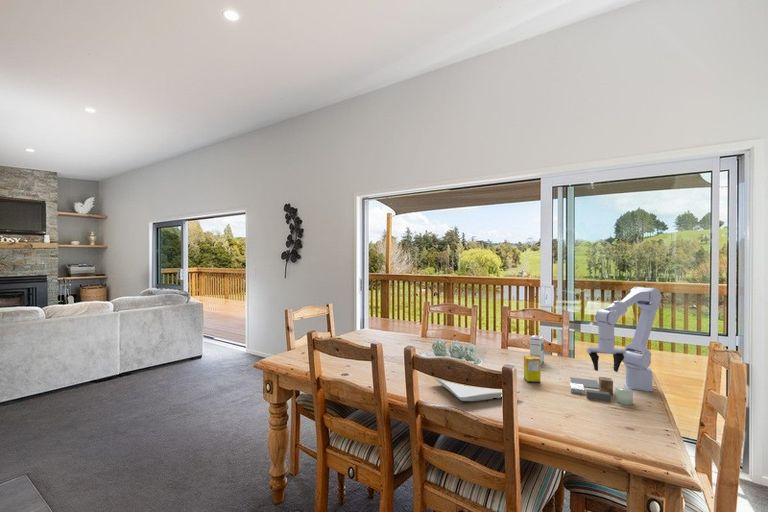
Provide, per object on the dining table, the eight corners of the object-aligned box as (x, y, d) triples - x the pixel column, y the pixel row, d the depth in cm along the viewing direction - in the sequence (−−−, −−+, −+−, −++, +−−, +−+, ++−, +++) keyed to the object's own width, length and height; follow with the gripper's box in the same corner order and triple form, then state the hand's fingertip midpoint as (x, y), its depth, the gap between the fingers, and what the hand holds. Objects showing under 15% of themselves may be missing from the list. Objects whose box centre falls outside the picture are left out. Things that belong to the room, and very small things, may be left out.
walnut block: (611, 392, 158) (611, 377, 158) (613, 395, 154) (613, 381, 154) (598, 390, 160) (598, 376, 160) (600, 394, 156) (600, 379, 156)
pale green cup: (630, 400, 149) (631, 387, 149) (634, 406, 144) (634, 393, 144) (613, 398, 152) (613, 385, 152) (616, 403, 146) (616, 390, 146)
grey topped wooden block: (570, 388, 164) (570, 382, 164) (583, 389, 162) (583, 384, 162) (570, 393, 157) (570, 387, 157) (584, 395, 155) (584, 389, 155)
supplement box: (536, 378, 175) (536, 355, 174) (540, 383, 169) (540, 359, 169) (523, 378, 175) (523, 355, 175) (527, 382, 169) (527, 358, 169)
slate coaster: (596, 381, 171) (596, 380, 171) (600, 389, 161) (600, 388, 161) (570, 378, 175) (570, 377, 175) (572, 386, 165) (572, 384, 165)
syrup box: (541, 365, 195) (541, 338, 195) (529, 363, 198) (529, 336, 198) (544, 363, 199) (544, 336, 199) (532, 361, 203) (532, 334, 203)
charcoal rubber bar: (608, 399, 151) (608, 392, 151) (610, 402, 148) (610, 394, 148) (586, 396, 154) (586, 389, 154) (587, 399, 151) (587, 391, 151)
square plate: (460, 406, 143) (460, 396, 143) (431, 383, 170) (431, 374, 170) (520, 399, 151) (520, 389, 151) (484, 377, 177) (484, 369, 177)
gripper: (620, 337, 160) (620, 368, 160) (584, 335, 162) (583, 366, 162) (628, 340, 153) (628, 374, 153) (590, 339, 155) (590, 371, 155)
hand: (605, 370), depth 157 cm, fingers open, 7 cm apart
